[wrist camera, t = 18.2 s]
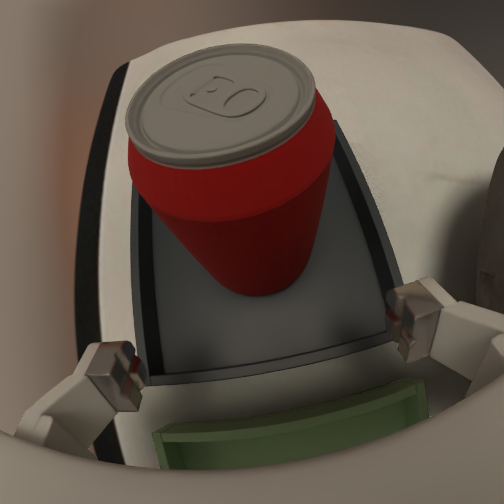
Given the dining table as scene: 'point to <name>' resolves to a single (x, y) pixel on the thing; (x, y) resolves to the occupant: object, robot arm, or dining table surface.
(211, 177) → the beverage can
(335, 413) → the sage tray
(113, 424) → the dining table surface
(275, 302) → the slate tray
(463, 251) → the dining table surface
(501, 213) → the bowl
